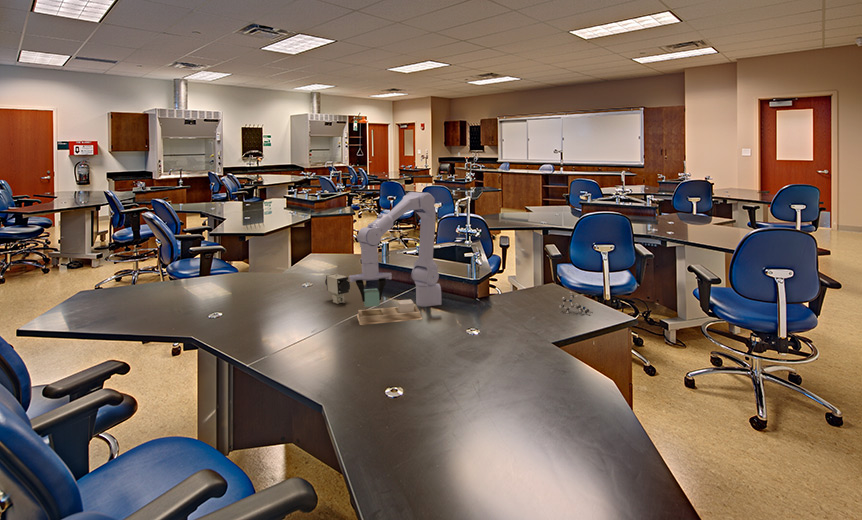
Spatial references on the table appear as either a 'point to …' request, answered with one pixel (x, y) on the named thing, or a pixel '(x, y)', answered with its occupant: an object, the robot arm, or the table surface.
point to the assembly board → (386, 315)
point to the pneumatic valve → (337, 286)
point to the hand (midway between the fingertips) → (371, 300)
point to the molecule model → (574, 306)
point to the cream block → (405, 306)
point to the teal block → (371, 297)
